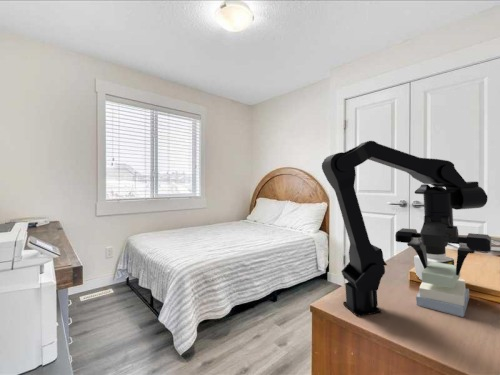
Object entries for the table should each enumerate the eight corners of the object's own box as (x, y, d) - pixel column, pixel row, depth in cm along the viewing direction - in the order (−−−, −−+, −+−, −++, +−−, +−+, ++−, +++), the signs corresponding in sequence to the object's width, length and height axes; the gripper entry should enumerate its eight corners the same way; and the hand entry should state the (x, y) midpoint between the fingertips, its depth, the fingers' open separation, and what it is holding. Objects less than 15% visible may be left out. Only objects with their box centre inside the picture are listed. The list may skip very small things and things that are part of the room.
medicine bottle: (437, 286, 71) (434, 245, 71) (414, 278, 78) (412, 240, 78) (455, 282, 73) (453, 241, 73) (432, 274, 80) (430, 237, 80)
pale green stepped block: (432, 270, 69) (431, 261, 69) (460, 275, 64) (460, 266, 64) (422, 282, 62) (421, 272, 62) (452, 288, 58) (452, 277, 58)
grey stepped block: (464, 317, 56) (463, 297, 56) (416, 304, 63) (415, 287, 62) (469, 297, 64) (468, 280, 64) (427, 288, 71) (426, 272, 71)
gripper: (387, 213, 64) (390, 273, 64) (487, 217, 51) (491, 293, 51) (400, 208, 72) (403, 262, 72) (489, 210, 58) (493, 276, 59)
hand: (441, 272), depth 63 cm, fingers closed on pale green stepped block, 6 cm apart
